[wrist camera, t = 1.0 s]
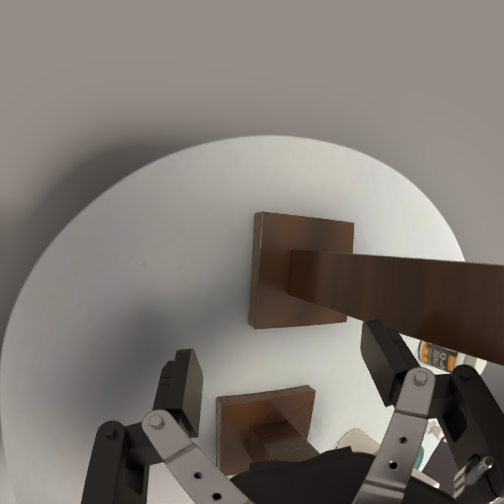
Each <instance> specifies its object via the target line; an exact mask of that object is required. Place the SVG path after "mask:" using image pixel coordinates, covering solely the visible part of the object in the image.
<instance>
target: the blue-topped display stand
mask: <svg viewBox="0 0 504 504" xmlns="http://www.w3.org/2000/svg"><path fill="white" fill-rule="evenodd" d="M315 392H316V391H315V390H314V389H313V388H311V387H310V386H303V387H297V388H291V389H285V390H278V391H272V392H264V393H257V394H249V395H240V396H230V397H218V398H217V468H218V469H219V470H220V471H221V472H222V473H223V474H224V475H225V476H229V475H236V474H238V473H240V472H243V471H245V470H248V469H250V463H254V462H264V461H272V460H279V461H295V462H302V461H305V460H307V459H310V458H312V457H315V456H317V455H319V454H320V453H319V452H318V451H317V450H316V449H315V448H314V447H313V446H312V445H311V444H310V443H309V442H308V441H307V438H308V433H309V427H310V422H311V416H312V410H313V405H314V398H315Z"/></svg>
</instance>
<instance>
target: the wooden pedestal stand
mask: <svg viewBox="0 0 504 504" xmlns="http://www.w3.org/2000/svg"><path fill="white" fill-rule="evenodd" d="M353 239H354V223H351V222H344V221H336V220H328V219H321V218H312V217H304V216H296V215H287V214H278V213H269V212H259V213H256V216H255V233H254V250H253V267H252V283H251V300H250V317H249V325H250V326H251V327H253V328H254V329H267V328H283V327H297V326H310V325H322V324H332V323H342V322H346V321H347V316H350V317H353V318H356V319H359V320H361V321H364V322H366V321H370V320H374V319H379V320H380V321H381V322H382V324H383V326H384V327H385V328H386V327H391V328H393V329H394V330H396V331H397V332H398V333H400V334H403V335H406V336H409V337H412V338H415V339H418V340H421V341H424V342H428V343H431V344H434V345H437V346H440V347H443V348H446V349H450V350H453V351H456V352H459V353H462V354H466V355H469V356H472V357H475V358H479V359H482V360H485V361H489V362H492V363H496V364H500V365H502V366H504V265H499V264H487V263H474V262H462V261H449V260H436V259H423V258H410V257H396V256H383V255H369V254H355V253H353Z"/></svg>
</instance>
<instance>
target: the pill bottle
mask: <svg viewBox="0 0 504 504" xmlns="http://www.w3.org/2000/svg"><path fill="white" fill-rule="evenodd" d="M420 359H421V361H422V362H423V363H425V364H428V365H430V366H433V367H436V368H438V369H441V370H443V371H446V372H449V373H452V371H453V369H454V368H455V367H456V366H458V365H461V364H467V365H470V366H472V367H474V368H475V369H476V370H477V372H478V373H479V375H480V374H481V373H482V371H483V369H484V367H485V365H486V363H487V361H485V360H482V359H479V358H475V357H472V356H469V355H466V354H462V353H459V352H456V351H453V350H450V349H446V348H443V347H440V346H437V345H434V344H431V343H428V342H424V341H422V342H421V346H420Z"/></svg>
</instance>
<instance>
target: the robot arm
mask: <svg viewBox="0 0 504 504" xmlns="http://www.w3.org/2000/svg"><path fill="white" fill-rule="evenodd" d="M360 348H361V354H362V357H363V360H364V362H365V364H366V366H367V368H368V370H369V372H370V374H371V377H372V379H373V381H374V383H375V385H376V387H377V390H378V392H379V394H380V396H381V398H382V401H383V403H384V405H385V407H387V406H390V405H393V406H394V408H395V410H394V413H393V415H392V418H391V421H390V423H389V426H388V429H387V431H386V434H385V436H384V438H383V441H382V443H381V446H380V448H379V450H378V452H377V455H373V454H370V453H366V452H359V451H352V448H351V446H347V447H343V448H339V449H334V450H330V451H326V452H324V453H321V454H319V455H317V456H315V457H312V458H310V459H307V460H305V461H302V462H295V461H279V460H272V461H264V462H254V463H250V469H248V470H245V471H243V472H240V473H238V474H237V475H235V476H233V477H232V478H231V479H228V478H227V477H226V476H225V475H224V474H223V473H222V472H221V471H220V470H219V469H218V468H217V466H216V465H215V464H214V463H213V462H212V461H211V460H210V459H209V458H208V457H207V456H206V454H205V453H204V452H203V451H202V450H201V449H200V448H199V447H198V446H197V445H196V444H194V443H193V442H192V440H191V437H198V433H199V421H200V410H201V399H202V388H203V375H202V370H201V368H200V365H199V362H198V359H197V357H196V354H195V351H194V349H181V350H177V352H176V356H175V361H168V362H167V363H166V365H165V366H164V367H163V369H162V372H161V376H160V380H159V386H158V388H157V393H156V397H155V401H154V406H153V410H152V411H151V412H149V413H148V414H147V415H146V416H145V417H144V418H143V420H142V422H140V423H136V424H132V425H128V426H123V425H122V424H121V423H120V422H118V421H108V422H105V423H104V424H102V425H101V426H100V427H99V429H98V431H97V434H96V438H95V442H94V446H93V450H92V454H91V458H90V462H89V467H88V471H87V476H86V480H85V485H84V490H83V496H82V501H81V504H146V503H147V490H148V478H149V468H150V465H153V464H157V463H161V462H164V463H165V465H166V466H167V468H168V469H169V470H170V472H171V473H172V474H173V476H174V477H175V478H176V480H177V481H178V482H179V484H180V485H181V486H182V487H183V489H184V490H185V491H186V493H187V494H188V495H189V496H190V497H191V499H192V500H193V501H194V502H195V503H196V504H499V503H500V502H501V501H503V500H504V414H503V412H502V411H501V409H500V407H499V405H498V404H497V402H496V400H495V399H494V397H493V396H492V394H491V392H490V391H489V389H488V387H487V386H486V384H485V383H484V381H483V379H482V378H481V376H480V375H479V373H478V372H477V370H476V369H475V368H474V367H472V366H470V365H467V364H461V365H458V366H456V367H455V368H454V369H453V371H452V373H451V374H439V375H435V374H433V372H432V371H430V370H429V369H427V368H423V367H421V366H420V365H419V363H418V362H417V360H416V359H415V357H414V356H413V354H412V352H411V351H410V349H409V348H408V346H407V345H406V343H405V342H404V341H403V339H402V337H401V336H400V334H399V333H398V332H397V331H396V330H394V329H393V328H391V327H386V328H385V327H384V326H383V324H382V322H381V321H380V320H379V319H374V320H370V321H366V322H363V325H362V335H361V346H360ZM432 418H437V420H438V422H439V425H440V427H441V429H442V431H443V434H444V436H445V438H446V441H447V443H448V445H449V448H450V450H451V453H452V455H453V457H454V460H455V463H456V465H457V467H458V470H459V472H458V474H457V475H456V477H455V479H454V489H455V492H454V496H453V497H452V496H451V495H450V494H448V493H446V492H444V491H442V490H440V489H438V488H436V487H434V486H432V485H430V484H428V483H426V482H424V481H422V480H420V479H418V478H416V477H414V476H412V475H411V473H412V471H413V468H414V465H415V462H416V459H417V456H418V453H419V450H420V447H421V444H422V441H423V437H424V434H425V431H426V427H427V423H428V419H432Z"/></svg>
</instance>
